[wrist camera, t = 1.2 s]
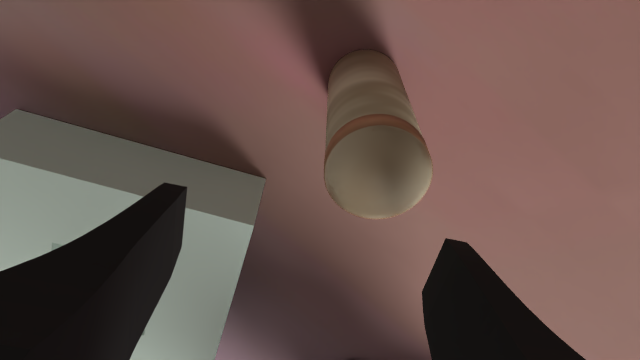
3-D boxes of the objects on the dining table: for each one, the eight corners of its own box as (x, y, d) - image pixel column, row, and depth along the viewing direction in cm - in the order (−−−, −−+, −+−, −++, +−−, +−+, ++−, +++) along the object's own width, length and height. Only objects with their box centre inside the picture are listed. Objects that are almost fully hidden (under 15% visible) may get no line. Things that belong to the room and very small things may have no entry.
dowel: (412, 62, 21) (451, 143, 14) (385, 128, 22) (407, 230, 15) (341, 39, 20) (344, 110, 13) (318, 107, 22) (310, 203, 15)
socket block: (266, 178, 24) (254, 225, 20) (219, 338, 30) (203, 395, 26) (16, 109, 22) (-43, 146, 19) (18, 291, 28) (-26, 346, 25)
